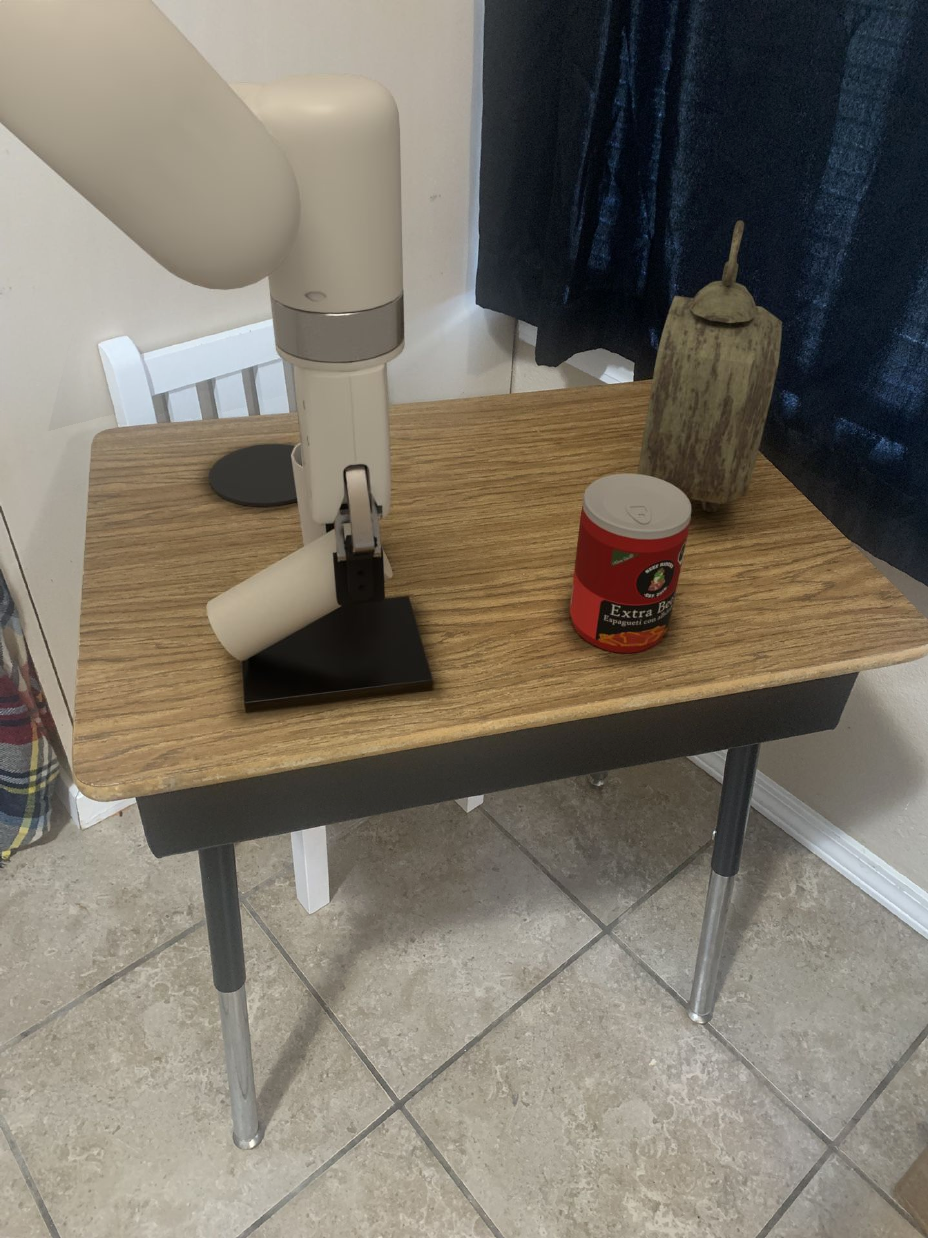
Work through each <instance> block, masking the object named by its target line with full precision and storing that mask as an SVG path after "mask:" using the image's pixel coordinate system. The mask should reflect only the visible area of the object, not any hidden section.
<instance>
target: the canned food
mask: <svg viewBox="0 0 928 1238" xmlns="http://www.w3.org/2000/svg"><path fill="white" fill-rule="evenodd" d="M691 515H692V504H691V501H690V499H689V498H687V496H686V495H685V494H684V493H683V492H682V491H681V490H680V489H679V488H677V487H675V486H674V485H672V484H670V483H668V482H666V481H664V480H661V479H658V478H655V477H651V476H647V475H641V474H638V473H614V474H610V475H605V476H602V477H600V478H597V479H595V480H594V481H593V482H591V483H590V484H589V485H587V487H586V489H585V491H584V495H583V498H582V504H581V511H580V518H579V526H578V536H577V545H576V553H575V562H574V570H573V579H572V587H571V596H570V603H569V613H570V619H571V622H572V625H573V627H574V629H575V631H576V632H577V634H578V635H579V636H580V637H581V638H583V639H584V640H585V641H586V642H588V643H589V644H590V645H592V646H595V647H596V648H599V649H602V650H605V651H609V652H613V653H614V652H615V653H622V654H624V653H625V654H626V653H627V654H631V653H639V652H642V651H646V650H649V649H650V648H653V647H655V645H657V644H659V642H660V641H661V639H662V638H663V637H664V635H665V634H666V632H667V631H668V629H669V625H670V622H671V617H672V612H673V607H674V604H675V603H674V602H675V598H676V593H677V588H678V583H679V578H680V574H681V570H682V569H681V568H682V564H683V559H684V553H685V550H686V545H687V542H688V541H687V540H688V535H689V531H690V524H691V519H692V516H691Z"/></svg>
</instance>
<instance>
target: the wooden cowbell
mask: <svg viewBox="0 0 928 1238" xmlns="http://www.w3.org/2000/svg"><path fill="white" fill-rule="evenodd" d="M744 229H745V222H744V221H743V220H737V221H736V222H735V225H734V228H733V233H732V237H731V239H732V240H731V246H730V251H729V257H728V260H727V261H726V262H725V264H724V267H723V271H722V272H723V273H722V278H721V280H715V281H711V282H710V283H708V284H707V285H705V286H704V287H703V288H701V289H700V290H699V291H698V292H697V293H696V294H695V295H694V297H688V296H680V295H674V297H673V299H672V301H671V305H670V307H669V309H668V314H667V316H666V320H665V323H664V327H663V329H662V333H661V337H660V341H659V345H658V349H657V353H656V358H655V365H654V370H653V376H652V381H651V387H650V392H649V399H648V405H647V411H646V416H645V417H646V418H645V424H644V429H643V434H642V443H641V448H640V449H641V450H640V456H639V461H638V469H637V474H641V475H647V476H651V477H655V478H658V479H661V480H664V481H666V482H668V483H670V484H672V485H674V486H675V487H677V488H679V489H680V490H681V491H682V492H683V493H684V494H685V495H686V496H687V498H688V499H689V500H695V501H701V505H702V509H703V510H704V511H706V512H707V513H711V514H712V513H716V512H717V511H718V510H719V508H720V507H721V505H724V504H727V503H731V502H733V501H736V500H739V499H742V498H744V497H747V496H748V494H749V489H750V486H751V482H752V478H753V474H754V470H755V466H756V463H757V459H758V454H759V450H760V447H761V442H762V439H763V433H764V429H765V425H766V422H767V416H768V413H769V408H770V404H771V400H772V396H773V391H774V387H775V382H776V378H777V373H778V366H779V360H780V354H781V353H780V352H781V343H782V331H783V321H781V319H779V318H778V317H776V316H775V315H774V314H772V313H771V312H769V311H768V310H767V309H765V307H763V306H758V305H756V302H755V300H754V297H753V296H752V294H751V293H750V292H749V290H748V288H747V287H746V286H745V285H743V284H740V283H738V282H736V281H737V280H736V279H737V277H738V271H739V264H738V262H737V261H738V253H739V250H740V246H741V241H742V237H743V233H744Z"/></svg>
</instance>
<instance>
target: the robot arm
mask: <svg viewBox="0 0 928 1238" xmlns="http://www.w3.org/2000/svg"><path fill="white" fill-rule="evenodd" d="M399 113H400V112H399V108H398V105H397V102H396V99H395V97H394V96H393V94H392V93H391V91H390V90H389V89H388V88H387V87H386V86H384V85H383V84H382V83H381V82H379V81H376V80H373V79H371V78H368V77H365V76H361V75H360V76H359V75H353V74H346V73H322V72H321V73H319V72H318V73H301V74H294V75H287V76H282V77H279V78H275V79H273V80H271V81H268V82H247V81H246V82H244V81H226V80H225V79H224V78H223V77H222V76H221V75H220V73H218V71H217V70H216V69H215V68H214V67H213V66H212V65H211V63H210V62H209V61H208V60H207V59H206V58H205V57H204V55H203V54H202V53H201V52H199V50H198V49H197V48H196V47H195V46H194V45H193V43H192V42H191V41H190V40H189V39H188V38H187V37H186V36H185V35H184V33H183V32H182V31H181V30H180V29H179V28H178V26H176V25H175V23H174V22H173V21H172V20H170V18H169V17H168V16H167V15H166V14H165V12H163V11H162V10H161V8H159V6H158V5H157V4H156V3H155V2H154V0H0V124H1V125H2V126H3V127H4V128H5V129H7V130H8V132H10V133H11V134H12V135H13V136H14V137H15V138H17V139H18V140H19V141H20V142H21V143H22V144H23V145H24V146H25V147H27V148H28V149H29V150H30V151H31V152H32V153H33V154H34V155H36V156H37V157H38V159H40V160H41V161H42V162H43V163H44V164H45V165H46V166H48V167H49V168H50V170H52V171H53V172H54V173H56V174H57V176H59V177H60V178H61V179H62V180H64V181H65V182H66V183H67V184H68V185H69V186H70V187H71V188H72V189H73V190H75V191H76V193H78V194H79V195H80V196H82V197H83V198H84V199H85V200H86V201H87V202H89V204H91V205H92V206H93V207H94V208H95V209H96V210H98V212H100V214H102V215H103V216H104V217H105V218H107V220H108V221H110V222H111V223H112V224H113V225H115V226H116V227H117V228H118V229H119V230H120V231H121V232H122V233H123V234H125V235H126V236H127V237H128V238H129V239H130V240H131V241H132V242H133V243H135V244H136V245H137V246H138V247H139V248H140V249H141V250H143V252H145V254H147V255H148V256H150V258H152V259H153V260H154V262H155V261H156V263H157V264H159V265H160V266H161V267H162V268H164V269H165V270H166V271H167V272H168V273H170V274H172V275H174V276H175V277H177V278H179V279H181V280H182V281H185V282H187V283H190V284H191V285H193V286H197V287H201V288H205V289H209V290H222V291H228V290H236V289H243V288H245V287H246V288H247V287H248V286H252V285H254V284H257V283H258V282H261V281H262V280H264V279H265V278H267V280H268V287H269V301H270V308H271V318H272V328H273V337H274V346H275V347H274V348H275V352H276V353H277V355H278V356H279V357H280V358H281V359H283V361H285V362H286V363H289V364H290V365H292V366H293V369H294V370H293V372H294V373H293V375H294V390H295V401H296V402H295V403H296V411H297V423H298V424H297V425H298V433H299V443H300V444H301V457H302V467H303V474H304V480H305V486H306V492H307V498H308V503H309V509H310V514H311V518H312V520H313V521H314V522H315V523H317V524H318V525H320V526H322V525H323V524H325V526H326V533H328V532H330V531H331V530H333V529H335V538H336V548H337V552H334V553H333V563H334V576H335V588H336V598H337V603H338V604H339V605H341V606H345V605H354V604H362V603H371V602H379V601H382V600H383V599H384V598H386V588H385V582H384V562H383V550H384V549H382V548H383V546H382V545H381V533H380V522H379V517H380V520H384V519H385V518H386V517H387V516H388V515H389V514H390V513H391V509H392V507H391V506H392V462H391V460H392V459H391V429H390V427H391V425H390V406H389V386H388V385H389V384H388V368H387V366H388V365H387V363H389V362H391V361H393V360H395V359H396V358H397V357H398V356H400V355H401V354H402V352H403V351H404V349H405V345H406V344H405V343H406V341H405V340H406V338H405V302H404V301H405V297H404V296H405V295H404V294H405V293H404V292H405V291H404V268H403V267H404V265H403V260H404V259H403V222H402V221H403V220H402V219H403V217H402V216H403V215H402V167H401V166H402V165H401V125H400V114H399ZM369 501H370V502H369ZM345 523H350V526H351V535H346V539H345V536H344V525H343V524H345Z"/></svg>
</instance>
